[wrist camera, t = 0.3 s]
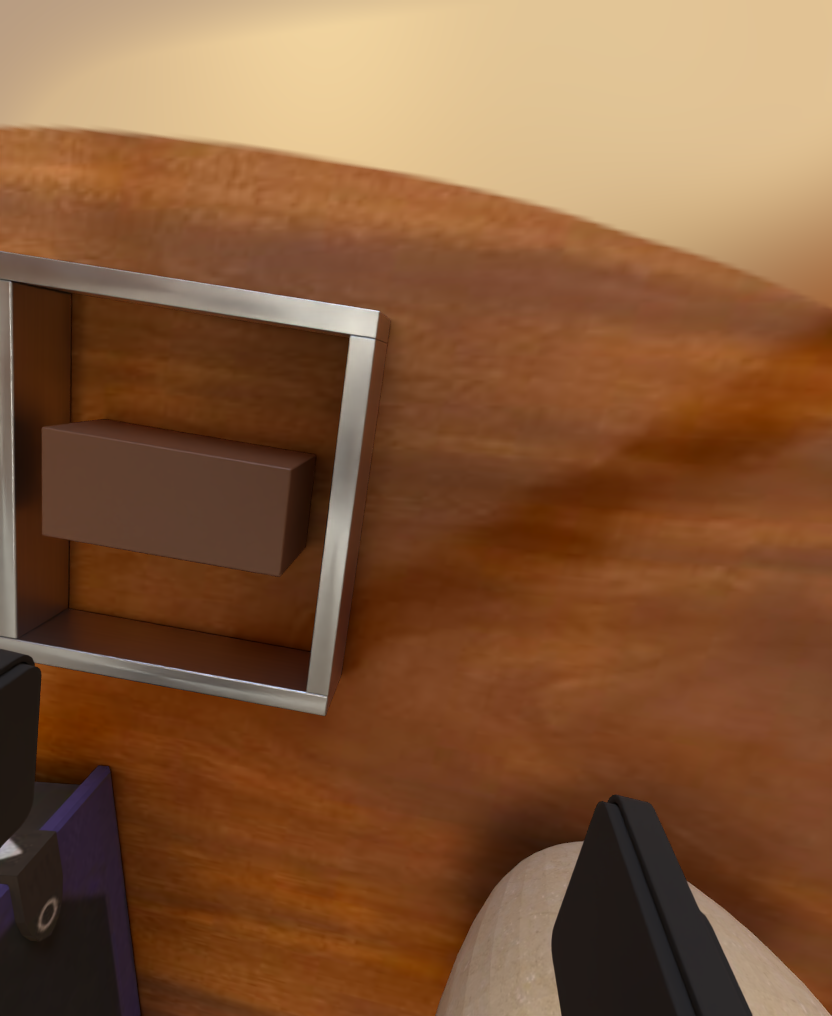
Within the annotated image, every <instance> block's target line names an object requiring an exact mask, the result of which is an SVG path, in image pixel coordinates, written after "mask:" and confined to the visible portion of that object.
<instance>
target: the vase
mask: <svg viewBox="0 0 832 1016" xmlns="http://www.w3.org/2000/svg"><path fill="white" fill-rule="evenodd" d="M582 845H583V842H571V843H564V844H559V845H555V846H552V847H548V848H546V849H544V850H541V851H539V852H536V853H534V854H532V855H531V856H529V857H527V858H526V859H524V860H522V861H521V862H520V863H519V864H518V865H517V866H515V867H514V868H513V869H512V870H511V871H510V872H509V873H508V874H506V875H505V876H504V877H503V878H502V880H501V881H500V882H499V883H498V884H497V885H496V886H495V888H494V889H493V890H492V892H491V894H490V895H489V897H488V898H487V900H486V902H485V903H484V905H483V907H482V908H481V910H480V911H479V913H478V915H477V916H476V918H475V920H474V921H473V923H472V925H471V927H470V930H469V932H468V934H467V936H466V938H465V940H464V942H463V944H462V947H461V949H460V951H459V953H458V955H457V958H456V960H455V963H454V966H453V968H452V971H451V974H450V976H449V979H448V982H447V984H446V987H445V989H444V992H443V995H442V997H441V1000H440V1003H439V1006H438V1009H437V1013H436V1016H561V1009H560V1003H559V997H558V991H557V985H556V979H555V972H554V966H553V960H552V952H551V939H552V931H553V927H554V924H555V921H556V918H557V915H558V913H559V910H560V907H561V904H562V901H563V898H564V896H565V893H566V890H567V887H568V884H569V882H570V879H571V876H572V873H573V870H574V867H575V865H576V862H577V859H578V856H579V853H580V851H581V848H582ZM687 883H688V885H689V887H690V890H691V892H692V894H693V896H694V899H695V901H696V903H697V905H698V907H699V910H700V911H701V912H702V913H703V914H705V915H706V917H707V919H708V920H709V922H710V924H711V926H712V927H713V930H714V932H715V934H716V936H717V938H718V941H719V943H720V945H721V947H722V949H723V951H724V954H725V956H726V958H727V960H728V962H729V965H730V967H731V969H732V971H733V973H734V975H735V978H736V980H737V982H738V984H739V986H740V989H741V991H742V993H743V995H744V997H745V999H746V1002H747V1004H748V1006H749V1008H750V1010H751V1012H752V1015H753V1016H831V1015H830V1014H829V1012H828V1011H827V1010H826V1009H825V1008H824V1007H823V1005H822V1004H821V1003H820V1002H819V1001H818V1000H817V998H816V997H815V996H814V995H813V994H812V993H811V992H810V990H809V989H808V988H807V987H806V986H805V985H804V983H803V982H802V981H801V980H800V979H799V978H797V977H796V976H795V975H794V974H793V973H792V972H791V971H790V970H789V969H788V968H787V967H786V966H785V965H784V964H783V963H782V962H781V961H780V960H779V959H778V958H777V957H776V956H775V955H774V954H773V953H772V952H771V951H770V950H769V949H768V948H767V947H766V946H765V945H764V944H763V943H762V942H761V941H760V940H759V939H758V938H757V937H756V936H755V935H754V934H752V933H751V932H750V931H749V930H748V929H747V928H746V927H744V926H743V925H742V924H741V923H740V922H739V921H738V920H736V919H735V918H734V917H733V916H732V915H731V914H729V913H728V912H727V911H726V910H725V909H724V908H722V907H721V906H720V905H718V904H717V903H716V902H714V901H713V900H712V899H710V898H709V897H708V896H706V895H705V894H704V893H702V892H701V891H700V890H698V889H697V888H696V887H694V886H693V885H692V884H690V883H689V882H688V881H687Z"/></svg>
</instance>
